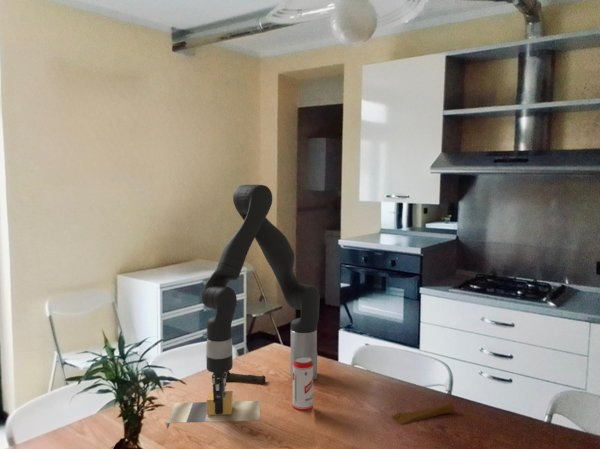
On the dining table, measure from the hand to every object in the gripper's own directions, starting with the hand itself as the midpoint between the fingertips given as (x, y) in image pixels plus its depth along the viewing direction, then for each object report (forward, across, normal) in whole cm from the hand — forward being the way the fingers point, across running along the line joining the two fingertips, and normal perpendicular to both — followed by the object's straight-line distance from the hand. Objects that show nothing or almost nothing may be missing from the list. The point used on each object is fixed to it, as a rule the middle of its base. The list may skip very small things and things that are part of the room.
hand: (220, 408), depth 140 cm
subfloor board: (+2, 0, +1) cm, 3 cm away
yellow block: (0, 0, 0) cm, 0 cm away
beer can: (+3, +2, -25) cm, 25 cm away
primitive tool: (+3, -4, -60) cm, 60 cm away
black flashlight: (+3, +21, -4) cm, 22 cm away
